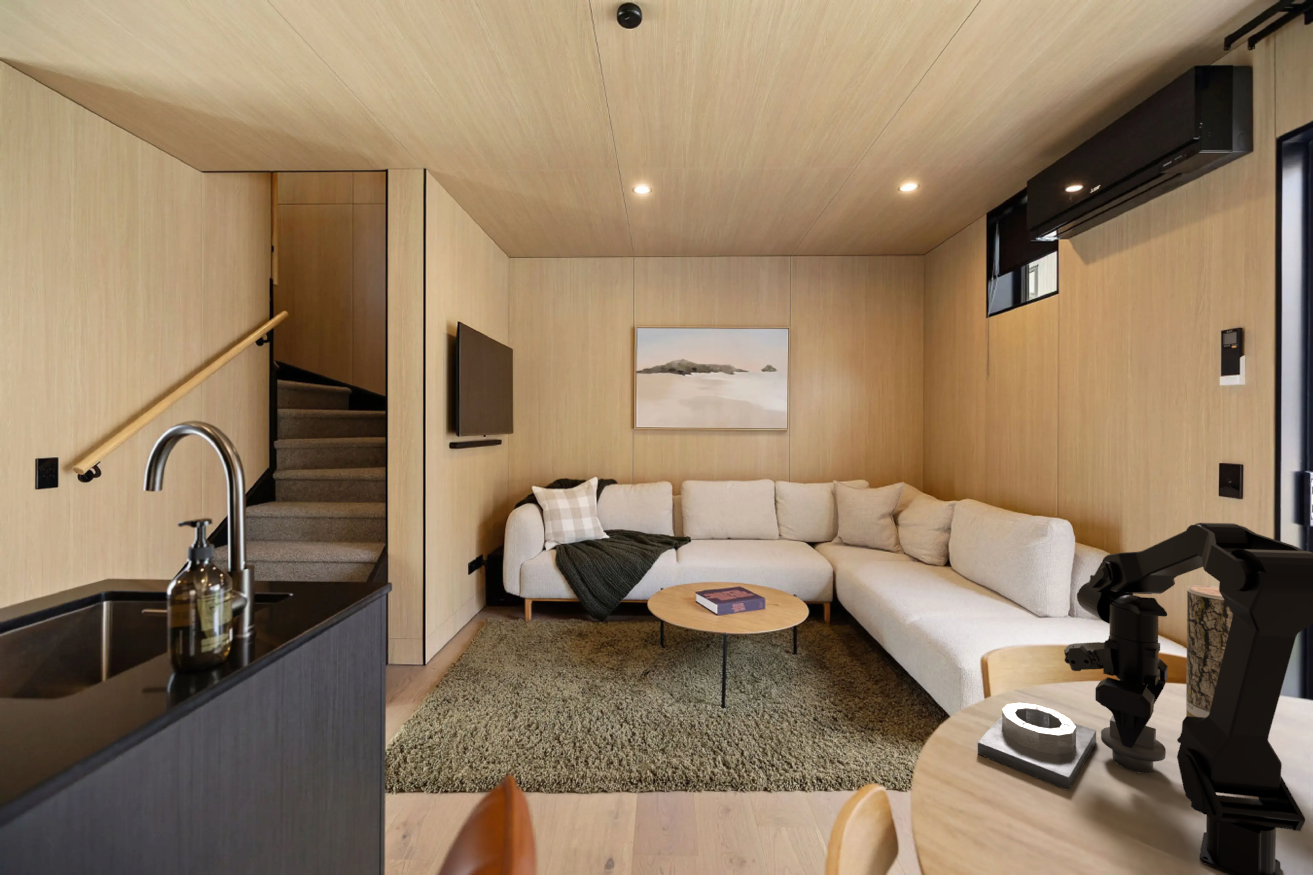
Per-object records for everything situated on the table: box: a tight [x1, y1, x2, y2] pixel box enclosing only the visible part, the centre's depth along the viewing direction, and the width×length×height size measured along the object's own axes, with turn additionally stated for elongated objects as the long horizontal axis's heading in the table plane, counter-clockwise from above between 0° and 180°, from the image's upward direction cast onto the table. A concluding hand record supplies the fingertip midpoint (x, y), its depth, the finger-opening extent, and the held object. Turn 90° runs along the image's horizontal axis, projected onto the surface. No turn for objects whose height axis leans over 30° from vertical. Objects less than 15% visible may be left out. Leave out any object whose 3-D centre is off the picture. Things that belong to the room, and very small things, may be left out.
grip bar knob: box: [1100, 715, 1167, 774], centre depth 86 cm, size 8×8×6 cm
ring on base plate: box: [977, 702, 1097, 791], centre depth 90 cm, size 18×12×5 cm, turn 131°
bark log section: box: [1185, 584, 1233, 718], centre depth 91 cm, size 7×7×25 cm
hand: (1132, 734), depth 86 cm, fingers open, 9 cm apart
